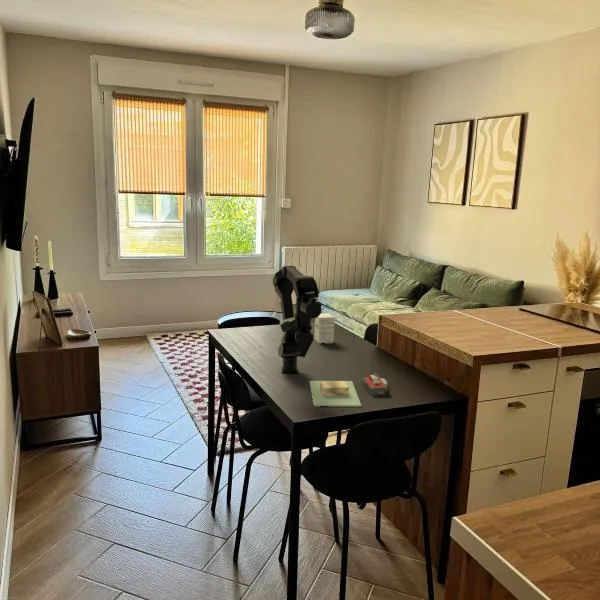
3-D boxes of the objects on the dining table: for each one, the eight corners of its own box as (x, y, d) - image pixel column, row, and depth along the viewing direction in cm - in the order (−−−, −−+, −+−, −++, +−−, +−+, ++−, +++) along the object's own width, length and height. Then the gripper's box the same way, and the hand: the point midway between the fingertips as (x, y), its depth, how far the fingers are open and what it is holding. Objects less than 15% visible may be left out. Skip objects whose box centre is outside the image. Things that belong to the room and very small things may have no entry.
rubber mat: (309, 382, 200) (309, 380, 200) (352, 382, 201) (352, 381, 201) (313, 406, 179) (313, 405, 179) (361, 406, 180) (361, 405, 179)
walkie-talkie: (395, 396, 190) (377, 376, 209) (396, 385, 189) (377, 365, 208) (371, 397, 188) (355, 377, 207) (372, 386, 187) (356, 366, 206)
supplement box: (313, 339, 254) (314, 313, 251) (328, 338, 256) (329, 313, 253) (318, 344, 247) (319, 317, 244) (333, 343, 249) (334, 316, 246)
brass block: (344, 388, 193) (344, 380, 193) (348, 395, 188) (348, 387, 187) (319, 389, 192) (320, 381, 191) (322, 396, 186) (323, 388, 186)
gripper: (281, 305, 201) (280, 345, 204) (281, 317, 183) (280, 361, 186) (310, 305, 201) (309, 345, 205) (314, 318, 183) (312, 361, 187)
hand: (302, 353), depth 195 cm, fingers open, 9 cm apart
